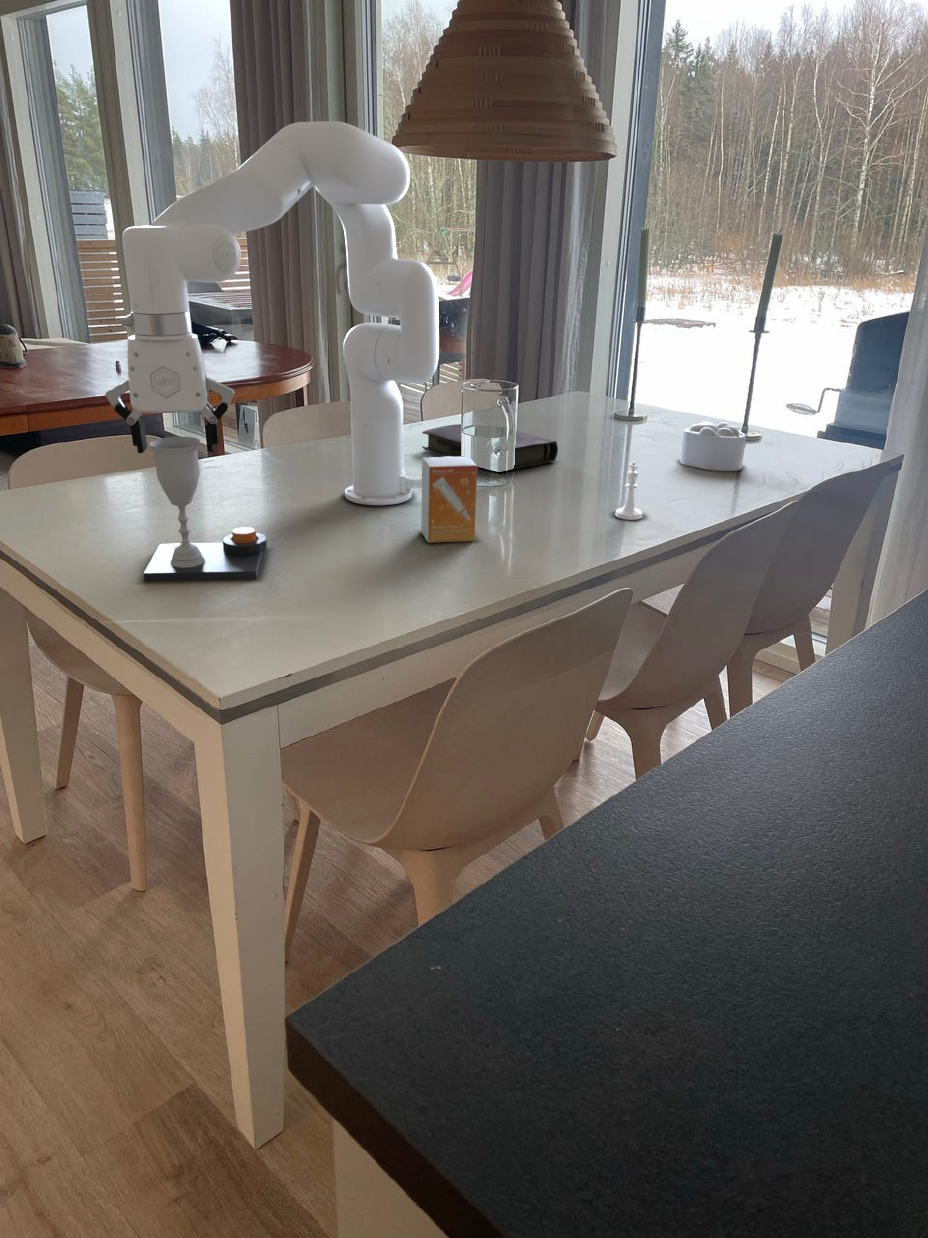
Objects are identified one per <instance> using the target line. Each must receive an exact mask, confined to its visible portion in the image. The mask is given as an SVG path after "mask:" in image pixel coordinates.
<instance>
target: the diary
mask: <svg viewBox="0 0 928 1238" xmlns="http://www.w3.org/2000/svg"><path fill="white" fill-rule="evenodd" d="M461 424H462V423H459V424H450V425H444V426H438V427H434V428H430V429H426V430H424V431H422V434H423V435H427V446H424V445H422V449H423V450H424V451H425V452H426V451H427V452H429V453H432V454H435V455H437V456H439V457H461ZM515 431H516V445H515V465H514V468H513V470H512V471H517V470H521V469H525V468H528V467H534V466H538V465H543V464H548V463H552V462H555V461H556V459H557V457H558V451H559V447H558V443H557V440H553V439H548V438H544V437H539V436H536V435H535V436H534V435H532V434H531V435H530V434H527V433H524V432H521V431H517V430H515Z"/></svg>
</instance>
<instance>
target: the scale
mask: <svg viewBox="0 0 928 1238" xmlns="http://www.w3.org/2000/svg"><path fill="white" fill-rule="evenodd" d="M256 538H257V541H255V542H250V543H235V542H233V536H232V533H230V534H228V535H226V536H224V537H223V539H222V542H191V544H193V545H196V546H197V547H198V548H199V551H200V552H201V553H202V556H203V558H204V559H205V562H204V563H203V564H201V565H198V566H194V567H186V568H183V567H175V566H172V565H171V564H170V562H171V560H172V555H173V553H174V550H175V548H176V547H177V546H179V545H180V544H181V543H182V542H181V543H180V542H179V543H178V542H177V543H176V542H175V543H159V545H158V547H157V548H156V550H155V552H154V553H153V555H152V557H151V559H150V560H149V562H148V564H147V566H146V568H145V569H144V571H143V573H142V574H143V581H144V583H157V582H158V583H159V582H160V583H161V582H203V581H250V580H251V581H252V580H253V581H254V580H257V579H258V575H259V572H260V567H261V563H262V559H263V556H264V552H266V551H267V548H268V540H267V536H266V535H265V534H263V533H260V532H256Z"/></svg>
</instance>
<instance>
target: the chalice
mask: <svg viewBox="0 0 928 1238" xmlns="http://www.w3.org/2000/svg"><path fill="white" fill-rule="evenodd" d="M200 443H201V439H200V438H197V437H192V436H168V437H167V436H166V437H163V438H162V437H161V438H157V439H155V440H152V441H150V442H149V446H150V447H151V449H152V451H153V452H154V454H153V455H154V461H155V470H156V478H157V480H158V483H159V485H160V487H161V489H162V490H163V492H164V494H165V496H166V497H167V498H168V501H169V502H170V503H171V504H172V505H173V506H176V507H177V509H178V511H179V512H178V517H177V520H178V522H179V524H180V527H179V530H178V531H177V532H178V533H180V536H181V544H180V545H179V546H177V547H176V548H175V550H174V553H173V555H172V560H171V562H170V564H171V565H172V566H175V567H183V568H186V567H194V566H198V565H201V564H203V563H204V562H205V559H204V558H203V556H202V553H201V552H200V551H199V548H198V547H197V546H196V545H193V544H191V543H192V542H190V539H189V534H190V532H191V529H190V528H189V526H188V520H189V516H188V514H187V512H186V509H187V508H186V507H187V506H188V505H190V504H191V503H192V501H193V498H194V496H195V494H196V490H197V489H198V484H199V479H200V475H201V473H200V463H199V453H198V448H199V445H200Z"/></svg>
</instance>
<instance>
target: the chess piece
mask: <svg viewBox="0 0 928 1238" xmlns="http://www.w3.org/2000/svg"><path fill="white" fill-rule="evenodd" d="M636 463H637V462H636V461H632V462H631V463H630V464H629V467H630V468H631V470H629V471H627V473H626V476H627V480H628V483H625V487H626V488H627V489H628V491H627V495H626V500H625V504H624V505H623V506H622V507H620V508H617V509H616V510H615V513H614V515H615V517H616V518H619V519H622V520H627V521H636V520H641V519H642V518H643V512H642V511H641V510H640V509H638V508H637V507H636V506H635V489H637V488H638V486H639V485H638V484H637V483H636V481H637V478H638V476H639V472H638V471H636V470H637V469H638V468H639V467H638V465H636Z"/></svg>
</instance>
